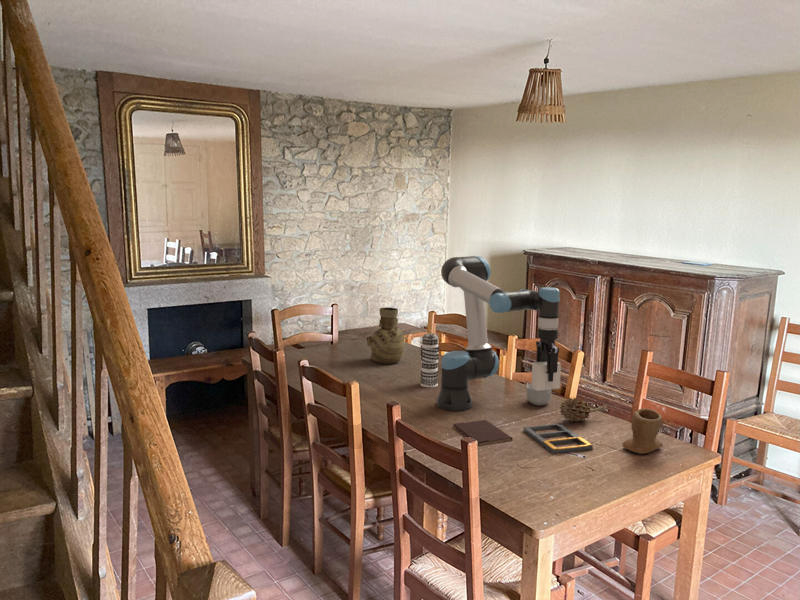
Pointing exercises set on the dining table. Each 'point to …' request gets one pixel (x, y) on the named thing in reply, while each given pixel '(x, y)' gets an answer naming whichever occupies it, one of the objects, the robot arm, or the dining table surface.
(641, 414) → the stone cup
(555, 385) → the panel
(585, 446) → the frame
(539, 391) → the teacup
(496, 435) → the notebook
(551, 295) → the robot arm
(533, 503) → the dining table surface
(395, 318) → the ceramic vessel
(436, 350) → the decorative candle
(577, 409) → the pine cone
